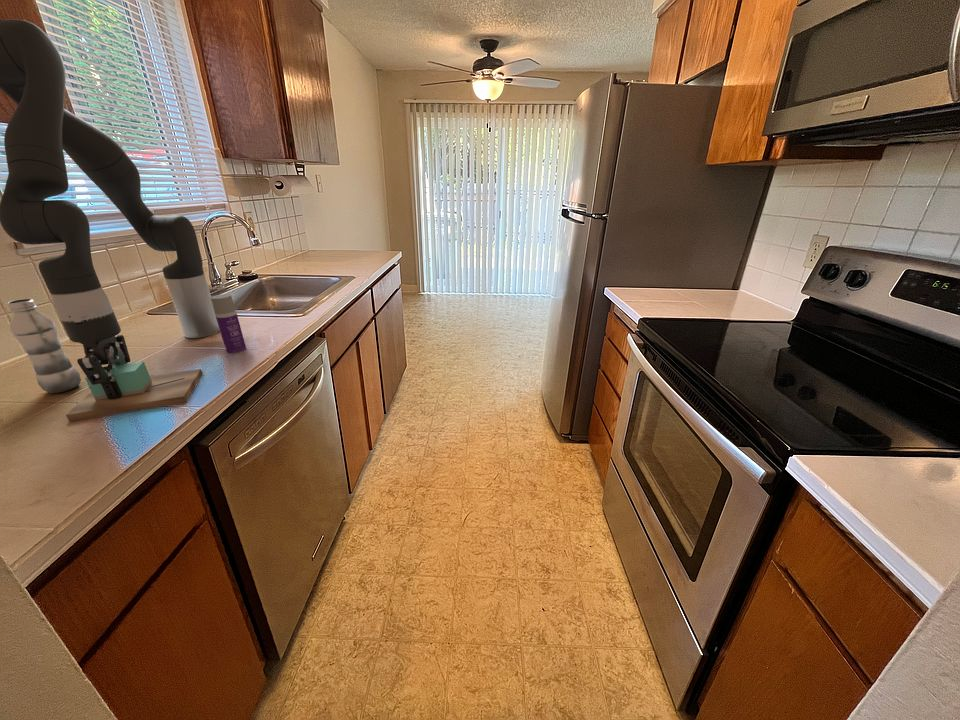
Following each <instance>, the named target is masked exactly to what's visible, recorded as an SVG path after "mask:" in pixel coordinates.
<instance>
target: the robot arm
mask: <svg viewBox="0 0 960 720" xmlns="http://www.w3.org/2000/svg"><path fill="white" fill-rule="evenodd" d="M66 81H67V80H66V68H65V64H64V60H63V58H62V55H61V53H60V51H59V49H58V48H57V46H56V45H55V43H54V41H52V39H51V38H50V36H49V35H47V34H46V32H45V31H43V29H42V28H41V27H39V26H38V25H37V24H34V23H33V22H30V21H29V20H25V19H18V18H17V19H16V18H15V19H14V18H10V19H9V18H8V19H0V90H1V91H2V92H3V93H4V94H5V95H6V96H7V97H9V98H10V99H11V100H12V101H13V102H14V103H15V104H17V107H16V109H15V110H14V112H13V114H12V116H11V117H10V120H9V121H8V123H7V126H6V129H5V132H4V139H3V142H4V152H5V157H6V159H5V160H6V165H7V169H8V174H7V179H6V182H5V186H4V190H3V194H2V196H1V200H0V225H1V227H2V230H4V232H5V233H6V234H7V236H8V237H10V238H11V239H13V240H15V241H16V242H18V243H20V244H23V245H48V244H49V245H50V244H64V245H65V250H64V253H63V254H62V255H58V256H55V257H54V256H53V257H49V258H46V259H43V260H41V261H40V262H39V263H38V270H39V272H40V275H41V277H42V279H43V281H44V283H45V285H46V287H47V289H48V292H49V293H50V296H51V300H52V303H53V307H54V309H55V311H56V313H57V315H58V317H59V319H60V322H61V323H62V326H63V328H64V331H65V332H66V335H67V337H68V338H69V340H70V341H71V342H72V343H78V344H80V345H82V347H83V351H84V355H85V356H84V357H81V358H80V357H79V358H78V359H76V360H77V361H76V362H77V364H78V366H79V367H80V369H81V370H82V372H83V373H84V375H85V377H86V376H87V378H88V379H89V381H90V382H91V384H92V385H96V384H101V385H102V387H103V389H104V392H105V394H106V396H107V398H108V399H117V398H120V397H121V396H122V393H121V390H120V388H119V386H118V384H117V381H116V380H115V376H114V371H113V370H114V369H115V368H116V366H115V365H123V364H129V363H131V356H130V354H129V351H128V350H129V349H128V346H127V343H126V340H125V339H126V338H125V337H124V335H123V334H120V333H121V332H122V329H121V326H120V324H119V321H118V318H117V317H116V314H115V312H114V309H113V307H112V304H111V302H110V300H109V298H108V295H107V294H106V292H105V291H104V289H103V287H102V285H101V283H100V279H99V278H98V274H97V273H96V270H95V267H94V264H93V263H94V262H93V258H92V252H91V251H92V250H91V228H90V222H89V218H88V216H87V215H86V213H85V212H84V211H83V209H82V208H80V206H78V205H77V204H76V203H73V202H71V201H69V200H63V199H53V200H52V199H49V198H52V197H55V196H57V197H58V196H59V195H62V194H64V193H66V192H67V191H68V190H69V177H68V172H67V167H66V161H65V154H66V155H68V156H69V158H70V159H71V160H72V161H73V162H74V163H75V165H76V166H77V167H78V168H79V169H80V170H81V171H82V172H83V173H84V174H85V175H86V176H87V177H88V178H89V180H91V181H92V183H94V185H96V187H97V188H98V189H100V190H101V192H102V193H103V194H104V195H105V196H106V197H107V198H108V199H109V200H110V202H112V204H113V205H114V206H115V207H116V208H117V209H118V210H119V212H120V213H121V214H122V215H123V216H124V217H125V219H126V221H127V222H128V223H129V225H131V227H132V228H133V229H134V231H135V232H136V233H137V234H138V236H139V237H140V238H141V240H142V241H143V242H144V243H145V244H146V245H147V246H149V248H151V249H153V250H155V251H156V252H175V253H176V258H177V259H176V260H175V261H174V262H172V263H170V264H169V263H168V264H167V265H165V266H163V267H162V274H163V277H164V279H165V282H166V285H167V288H168V290H169V294H170V297H171V300H172V302H173V306H174V309H175V310H176V311H175V312H176V314H177V317H178V320H179V323H180V326H181V329H182V332H183V335H184V337H185V338H188V339H199V338H205V337H209V336H213V335H215V334H218V333H219V332H220V329H219V326H218V323H217V319H216V316H215V312H214V309H213V305H212V301H211V297H212V295H211V291H210V288H209V285H208V283H207V279H206V276H205V275H206V274H205V272H204V268H203V267H204V265H203V264H204V263H203V258H202V253H201V250H200V245H199V241H198V237H197V236H198V235H197V233H196V230H195V228H194V226H193V224H192V222H191V221H190V220H189V218H187V217H185V216H183V215H178V214H177V215H176V214H175V215H174V214H173V215H156V214H155V213H154V212H153V211H151V210H150V209H149V207H147V205H146V204H145V202H144V201H143V198H142V195H141V194H142V193H141V187H142V186H141V184H142V183H141V176H140V172H139V170H138V169H139V168H138V167H137V165H136V164H135V162H133V160H132V159H131V158H130V157H129V156H128V154H127V153H126V152H125V150H124V149H123V148H122V146H121V145H119V143H118V142H117V141H116V140H115V139H114V138H113V137H111V135H109V134H107V133H106V132H104V131H103V130H101V129H100V128H98V127H96V126H94V125H93V124H91V123H89V122H88V121H87V120H85V119H83V118H80V117H79V116H77V115H75V114H74V113H72V112H70V111H69V110H67V109H66V108H65V96H66V95H65V94H66V83H67V82H66ZM64 152H65V154H64ZM47 199H49V200H47ZM104 365H106V366H104ZM105 370H106V371H107V373H108V375H107V373H106V372H105ZM94 375H95V376H96V377H95V376H94Z"/></svg>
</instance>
